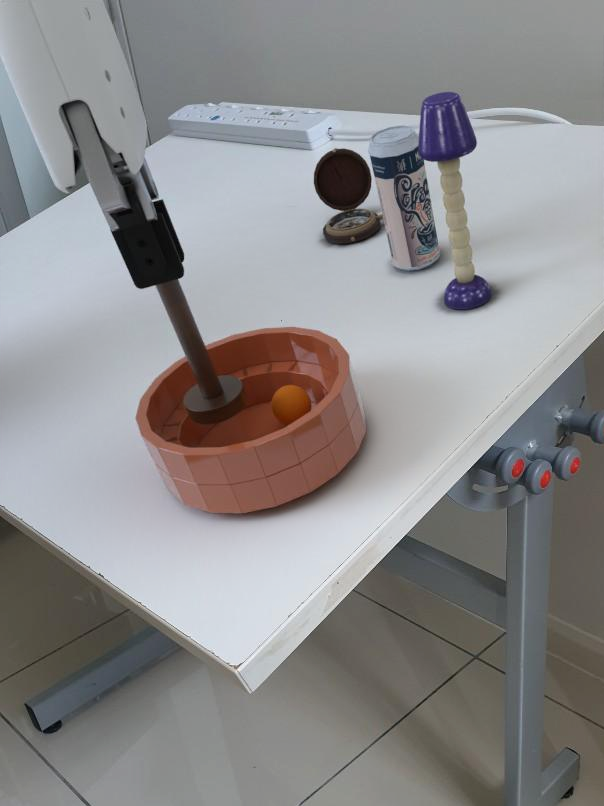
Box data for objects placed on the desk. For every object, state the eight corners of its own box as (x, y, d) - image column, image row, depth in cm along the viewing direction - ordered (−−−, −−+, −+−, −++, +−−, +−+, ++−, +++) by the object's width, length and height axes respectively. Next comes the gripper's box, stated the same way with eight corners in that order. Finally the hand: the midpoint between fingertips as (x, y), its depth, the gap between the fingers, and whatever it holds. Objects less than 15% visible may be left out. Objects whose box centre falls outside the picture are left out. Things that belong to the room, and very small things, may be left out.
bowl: (155, 540, 61) (120, 474, 57) (179, 414, 72) (152, 352, 68) (373, 496, 60) (353, 426, 56) (363, 375, 71) (345, 309, 67)
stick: (186, 430, 61) (85, 210, 51) (192, 396, 65) (99, 182, 54) (246, 417, 61) (157, 193, 50) (249, 383, 64) (167, 166, 54)
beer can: (426, 275, 82) (402, 145, 74) (383, 272, 84) (355, 145, 76) (449, 251, 84) (428, 123, 76) (407, 248, 87) (382, 123, 79)
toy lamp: (443, 288, 79) (409, 94, 68) (494, 279, 79) (468, 81, 68) (445, 314, 76) (409, 114, 65) (498, 305, 75) (471, 101, 64)
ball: (277, 436, 66) (265, 404, 64) (278, 414, 68) (267, 382, 66) (316, 428, 66) (305, 395, 64) (315, 406, 68) (305, 373, 66)
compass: (325, 251, 90) (306, 181, 85) (324, 220, 96) (306, 153, 91) (401, 234, 89) (386, 162, 85) (395, 204, 95) (381, 135, 90)
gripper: (-23, -65, 49) (113, 242, 62) (-89, -18, 38) (95, 348, 50) (104, -100, 49) (215, 214, 62) (78, -64, 38) (221, 313, 50)
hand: (161, 272), depth 56 cm, fingers closed on stick, 1 cm apart
